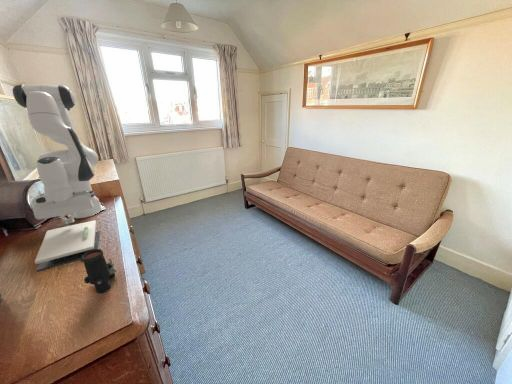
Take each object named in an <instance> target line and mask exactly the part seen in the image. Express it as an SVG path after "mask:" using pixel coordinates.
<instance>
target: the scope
mask: <svg viewBox="0 0 512 384" xmlns="http://www.w3.org/2000/svg"><path fill="white" fill-rule="evenodd" d="M108 260H109V262H107V261H106V258H105V255H104V252H103V249H99V248H98V249H95V250H91V251H89V252H87V253H85V254H84V255H83V256H82V260H81V261H82V262H83V265H84V267H85V268H84V269H85V271H86V276H85V277H84V278H83V281H84V283H85V284H90V285H94V289H95V291H96V293H97V294H104V293H107V291H109V290H110V289H111V288H112V285H111V281H110V280H111V279H113V278H115V277H116V272H117V268H116V266H115V262H113V260H112V257H108Z"/></svg>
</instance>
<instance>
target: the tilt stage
mask: <svg viewBox="0 0 512 384" xmlns="http://www.w3.org/2000/svg"><path fill="white" fill-rule="evenodd" d="M96 229H97V221H96V219H95V220H94V219H93V220H91V221H86V222H81V223H77V224H76V223H75V224H71V225H67V226H66V225H65V226H62V227H57V228H52V229H48V230H47V231H46V233H45V235H44V237H43V240H42V242H41V245H40V247H39V250H38V252H37V255H36V256H35V257H36V258H35V259H34V263H35V265H37V264H38V265H39V264H40V263H42V262H46V261H49V260H53V259H57V258H61V257H64V256H68V255H72V254H75V253H79V252H83V251H87V250H90V249H94V242H95V232H97V231H96Z"/></svg>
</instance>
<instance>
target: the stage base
mask: <svg viewBox="0 0 512 384" xmlns="http://www.w3.org/2000/svg"><path fill="white" fill-rule="evenodd" d="M100 234H102V232H101V230H99V231H95V242H94V249H90V250H87V251H83V252H79V253H75V254H72V255H68V256H64V257H61V258H57V259H53V260H49V261H46V262H42V263H38V266H37V268H36V270H35V272H36V273H39V272H43V271H46V270H51V269H53V268H56V267H60V266H64V265H67V264H71V263H74V262H78V261H82V256H83V255H84V254H85V253H87V252H89V251H91V250H95V249H99V248H100V247H99V246H100V240H101V235H100Z"/></svg>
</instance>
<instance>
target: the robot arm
mask: <svg viewBox="0 0 512 384" xmlns="http://www.w3.org/2000/svg"><path fill="white" fill-rule="evenodd" d="M12 96H13V98H14V100H15V101H16V103H17V104H18V105H19V106H20V107H22V108H24V109H26V111H27V116H28V120H29V123H30V125H31V128H32V129H33V130H34V131H36V132H37V133H38V134H40V135H43V136H44V137H48V138H49V139H50V140H51V141H53V142H54V143H58V144H61V145H64V146H66V147H67V149H63V150H61V149H60V150H50V151H46V152H42V153H41V154H40V155H39V157H38V159H37V160H36V168H37V173H38V177H39V179H40V181H41V184H43V187H44V188H43V189H44V192H43V193H41V194H39V195H37V196H35V197H34V198H33V199H32V200H31V202H32V204H33V207H32V212H33V216H34V219H36V220H39V221H40V220H45V219H46V220H47V219H50V218H56V217H59V219H61V220H63V221H64V222H65V224H71V223H75V219H85V218H89V217H93V216H95V214H96V215H98V214H100V213H101V212H100V211H102V210H104V209H106V210H107V208H106V207H105V205H104V206H102V205H101V203H102V202H100V200H99V198H98V197H97V196H96V195H95V191H94V189H93V188H92V185H91V182H90V180H92V179H93V178H94V176H95V169H94V167H93V166H97V164H98V163H99V155H98V153H97V152H96V151H95V150H94V149H92V148H90V147H88V146H86V145H85V144H84V143H82V142H81V140H80V139H79V137H78V135H77V134H76V130H75V128H74V125H73V122H72V119H71V116H70V114H69V112H68V111H70V110H71V109H73V108H74V106H75V105H76V96H75V94H74V93H73V91H72V90H71V89H70V88H69V87H68V86H66V85H61V84H59V85H56V84H48V83H40V84H38V83H37V84H16V85H14V86H13V88H12ZM104 211H105V210H104ZM99 212H100V213H99ZM102 212H103V211H102ZM97 213H98V214H97ZM66 215H67V217H68V218H67V217H66Z"/></svg>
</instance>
